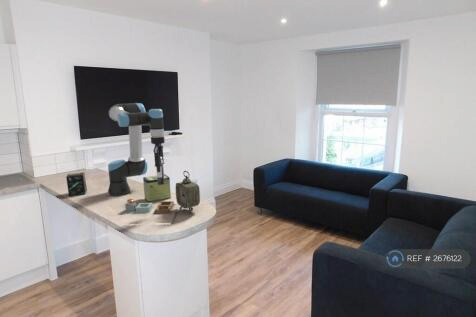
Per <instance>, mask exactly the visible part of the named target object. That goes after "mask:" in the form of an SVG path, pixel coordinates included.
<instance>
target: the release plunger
mask: <svg viewBox="0 0 476 317" xmlns="http://www.w3.org/2000/svg"><path fill="white" fill-rule="evenodd" d="M133 202H135V200H134V198H129V199H127V200H126V204H127V203H128V205H133Z"/></svg>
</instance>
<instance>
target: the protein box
mask: <svg viewBox="0 0 476 317" xmlns="http://www.w3.org/2000/svg"><path fill="white" fill-rule="evenodd" d="M170 178H171V177H170V176H168V175H167V174H165V173H164V183H165V184H163V185H158V183H157V175H151V176H145V177H142V179H143V180H142V181H143V193H144V200H145V201H147V203H153V202H155V201H156V202H157V201H163V200H168V199H169V200H170V199H172V197H171V196H172V195H171V182H170V181H171V180H170Z"/></svg>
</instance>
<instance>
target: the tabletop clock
mask: <svg viewBox="0 0 476 317" xmlns="http://www.w3.org/2000/svg"><path fill="white" fill-rule="evenodd" d="M185 173H187V174H188V175H185ZM182 174H183V176H184V178H183V179H182V181H181V182H179V181H178V182H176V183H175V199H176V204H177V205H179V210H182V209H188V211H187V215H191V211H193V210H194V207H197V206H199V204H201V203H200V201H201V193H200V186H199V185H198V184H197V183H196V182H194V181H192V180H191V178H190V172H188V171H187V170H184V171H183V173H182Z"/></svg>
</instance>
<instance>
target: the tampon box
mask: <svg viewBox="0 0 476 317" xmlns="http://www.w3.org/2000/svg"><path fill="white" fill-rule="evenodd" d="M65 178H66V185H67V192H68V196H69V197H73V196H74V197H75V196H81V195H86V194H87V192H88V190H87V182H86V174H85V171H84V172H76V173H75V172H73V173H68V174H67V175H66V176H65Z"/></svg>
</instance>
